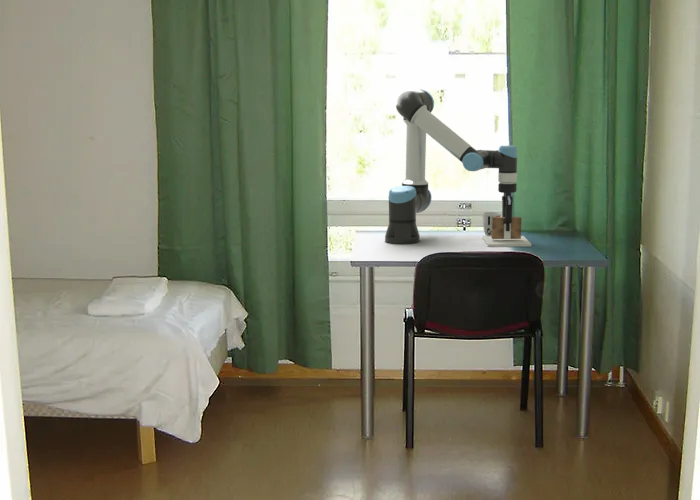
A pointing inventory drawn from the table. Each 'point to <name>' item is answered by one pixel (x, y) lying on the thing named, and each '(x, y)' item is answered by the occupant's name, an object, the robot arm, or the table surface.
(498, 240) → the mat
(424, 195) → the robot arm
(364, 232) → the table surface
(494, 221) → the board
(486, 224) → the cup
